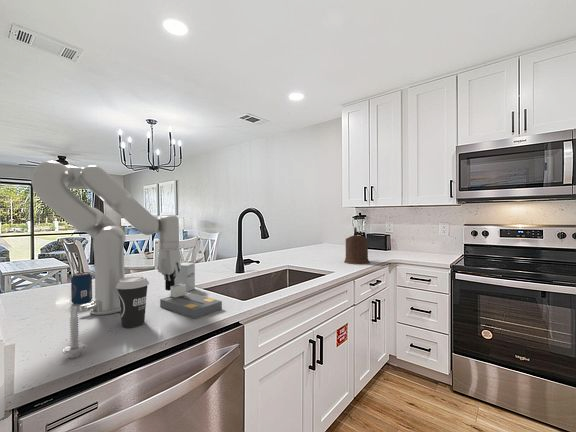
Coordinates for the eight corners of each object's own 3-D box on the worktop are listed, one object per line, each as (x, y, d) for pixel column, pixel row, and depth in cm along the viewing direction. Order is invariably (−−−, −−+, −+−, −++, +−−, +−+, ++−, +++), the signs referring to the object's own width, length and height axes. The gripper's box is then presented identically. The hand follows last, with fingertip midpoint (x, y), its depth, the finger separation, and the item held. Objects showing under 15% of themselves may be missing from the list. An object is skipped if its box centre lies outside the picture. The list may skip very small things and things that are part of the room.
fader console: (195, 318, 97) (195, 309, 97) (160, 306, 110) (160, 298, 110) (221, 309, 107) (221, 300, 107) (187, 299, 120) (186, 291, 119)
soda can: (69, 302, 116) (69, 273, 115) (90, 298, 121) (89, 271, 121) (73, 306, 111) (72, 276, 111) (94, 302, 116) (93, 273, 116)
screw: (88, 355, 72) (64, 363, 69) (83, 349, 75) (60, 356, 72) (87, 305, 72) (63, 310, 68) (82, 301, 75) (59, 306, 72)
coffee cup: (126, 332, 86) (125, 283, 86) (110, 326, 91) (110, 280, 91) (155, 322, 94) (154, 277, 94) (139, 316, 99) (138, 274, 99)
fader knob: (174, 297, 110) (174, 287, 110) (170, 296, 112) (170, 286, 112) (186, 294, 114) (186, 284, 114) (181, 293, 116) (181, 283, 116)
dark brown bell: (344, 264, 198) (344, 228, 197) (343, 258, 221) (343, 227, 221) (371, 264, 194) (371, 228, 194) (367, 259, 218) (367, 227, 218)
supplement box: (187, 292, 129) (186, 265, 129) (172, 292, 130) (172, 265, 130) (195, 288, 136) (195, 262, 136) (181, 287, 138) (181, 262, 137)
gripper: (150, 245, 117) (151, 289, 118) (171, 247, 109) (172, 294, 109) (167, 243, 124) (168, 285, 124) (188, 245, 115) (188, 290, 115)
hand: (170, 289), depth 116 cm, fingers closed
